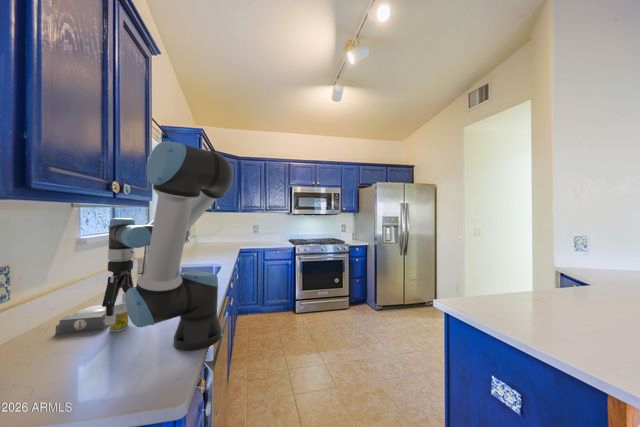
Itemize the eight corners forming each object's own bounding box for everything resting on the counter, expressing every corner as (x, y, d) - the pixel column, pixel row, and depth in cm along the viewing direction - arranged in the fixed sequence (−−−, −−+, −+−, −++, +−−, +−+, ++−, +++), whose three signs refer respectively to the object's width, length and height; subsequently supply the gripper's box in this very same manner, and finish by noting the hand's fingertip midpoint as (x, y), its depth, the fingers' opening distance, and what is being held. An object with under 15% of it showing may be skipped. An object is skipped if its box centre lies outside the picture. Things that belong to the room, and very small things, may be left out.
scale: (103, 330, 94) (103, 316, 94) (54, 334, 89) (55, 320, 89) (124, 311, 111) (124, 300, 111) (84, 314, 107) (84, 303, 107)
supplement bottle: (128, 324, 98) (129, 300, 98) (127, 330, 94) (128, 304, 94) (110, 328, 95) (111, 302, 95) (108, 333, 91) (109, 306, 91)
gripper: (118, 266, 84) (115, 330, 84) (144, 253, 108) (142, 303, 108) (90, 267, 82) (87, 332, 82) (123, 254, 106) (121, 305, 106)
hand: (118, 316), depth 95 cm, fingers open, 13 cm apart
